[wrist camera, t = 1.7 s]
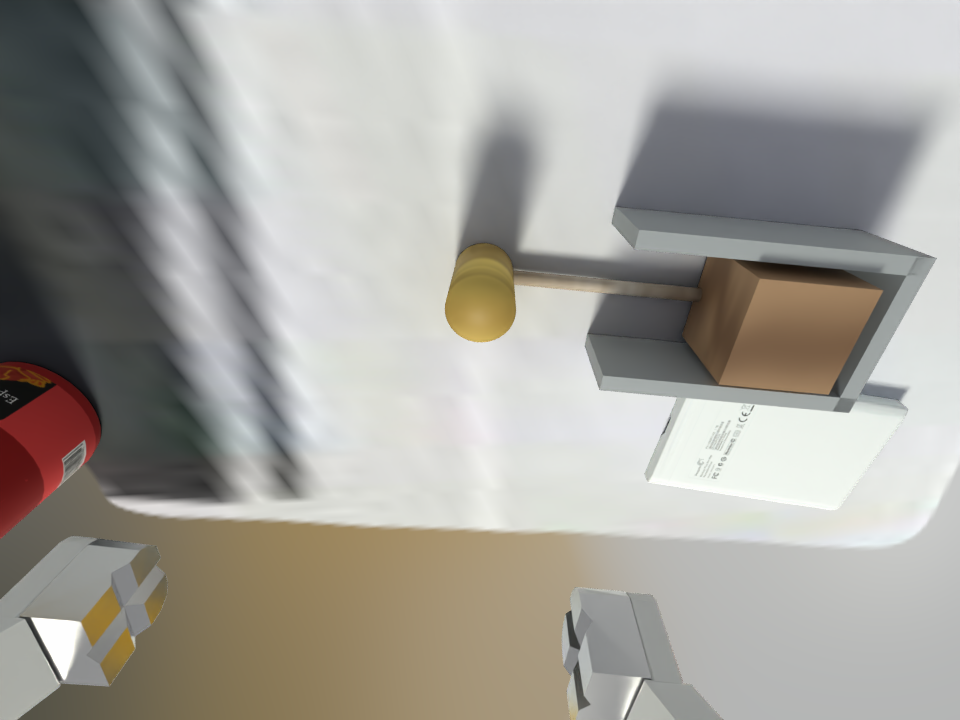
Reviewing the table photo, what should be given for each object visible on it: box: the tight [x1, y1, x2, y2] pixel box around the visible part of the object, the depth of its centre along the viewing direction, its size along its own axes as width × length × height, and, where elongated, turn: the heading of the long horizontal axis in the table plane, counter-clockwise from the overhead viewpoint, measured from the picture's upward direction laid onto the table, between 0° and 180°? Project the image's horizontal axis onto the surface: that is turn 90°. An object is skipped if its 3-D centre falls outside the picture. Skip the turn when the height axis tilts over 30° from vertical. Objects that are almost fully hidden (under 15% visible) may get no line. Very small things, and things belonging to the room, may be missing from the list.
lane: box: [585, 207, 937, 413], centre depth 23 cm, size 8×12×4 cm, turn 85°
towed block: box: [445, 243, 883, 395], centre depth 22 cm, size 5×18×5 cm, turn 85°
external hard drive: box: [645, 394, 908, 510], centre depth 29 cm, size 2×8×12 cm
